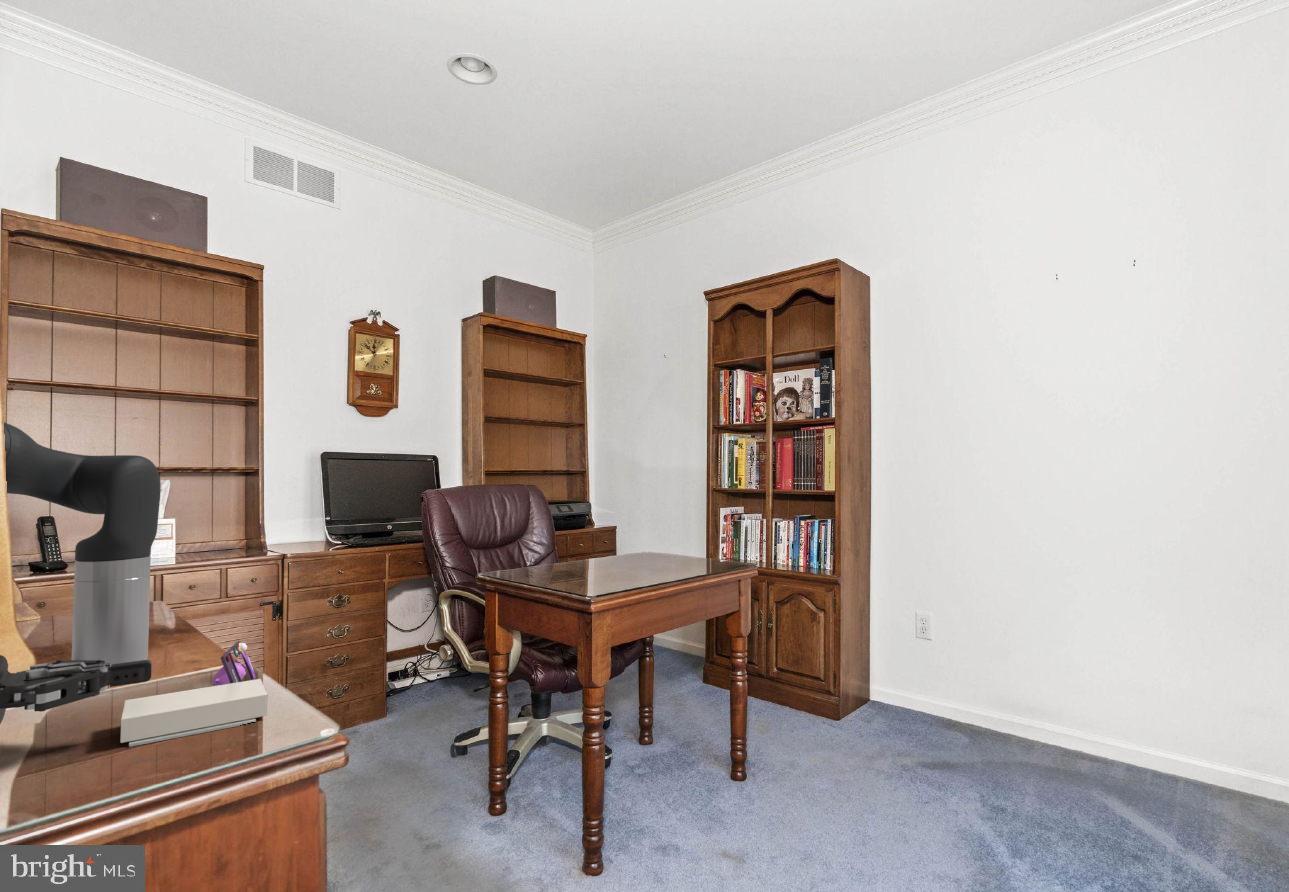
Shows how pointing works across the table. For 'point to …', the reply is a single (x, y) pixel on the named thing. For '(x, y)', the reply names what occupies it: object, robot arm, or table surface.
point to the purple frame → (233, 666)
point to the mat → (190, 732)
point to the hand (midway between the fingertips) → (151, 669)
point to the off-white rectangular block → (192, 709)
